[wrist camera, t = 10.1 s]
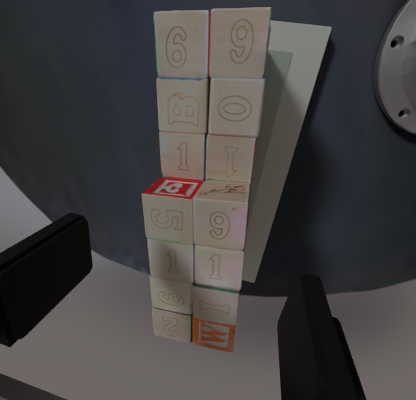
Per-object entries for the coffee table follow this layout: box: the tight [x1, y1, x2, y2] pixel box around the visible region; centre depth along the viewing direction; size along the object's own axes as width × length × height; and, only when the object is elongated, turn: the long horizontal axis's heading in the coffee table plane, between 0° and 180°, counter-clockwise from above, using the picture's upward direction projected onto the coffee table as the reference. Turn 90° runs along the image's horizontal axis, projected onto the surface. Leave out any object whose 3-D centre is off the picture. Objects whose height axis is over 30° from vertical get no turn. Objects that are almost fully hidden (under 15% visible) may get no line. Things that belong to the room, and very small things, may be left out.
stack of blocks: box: [142, 7, 272, 352], centre depth 18 cm, size 21×6×12 cm, turn 177°
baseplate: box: [175, 10, 332, 283], centre depth 25 cm, size 13×27×1 cm, turn 171°
